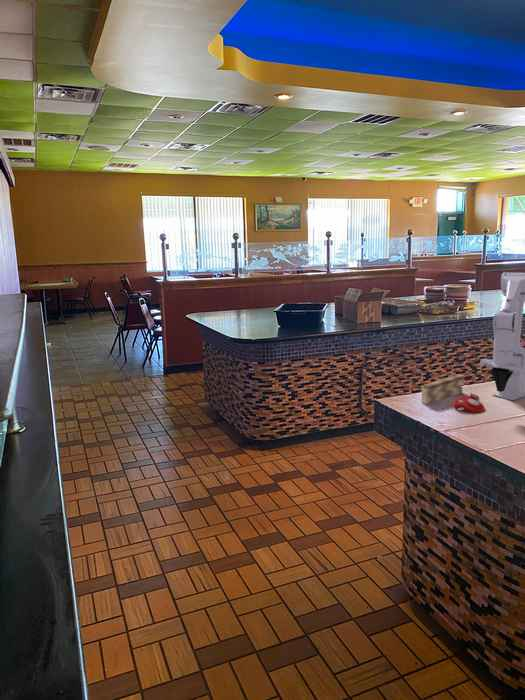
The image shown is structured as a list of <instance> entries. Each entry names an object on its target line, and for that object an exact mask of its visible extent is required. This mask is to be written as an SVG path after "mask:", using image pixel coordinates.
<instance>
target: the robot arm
mask: <svg viewBox="0 0 525 700" xmlns="http://www.w3.org/2000/svg"><path fill="white" fill-rule="evenodd" d="M500 289H501V292H502V296H504V297H503V298H502V299H501V300H500V303H499V306H498V310H497V312H496V313H494V314H493V320H492V327H493V337H494V338H493V350H492V351H493V353H492V354H493V355H492V359H487V358H482V359H481V358H480V359H479V361H480V363H479V366H483V367H484V366H485V367H489V368H491V369H490V370H489V371H490V374H491V375H492V377H493V380H494V383H495V388H496V391H497V392H494V393H492V395H493V396H495V397H498V398H503V399H505V400H511V401H515V400H518V399H520V398H523V397H525V347H523V346H522V345H521V344H520V343H521V335H522V334H521V333H522V324H523V315H524V306H525V272H505V271H503V273H502V274H501V277H500Z"/></svg>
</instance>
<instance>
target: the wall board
mask: <svg viewBox="0 0 525 700" xmlns="http://www.w3.org/2000/svg"><path fill="white" fill-rule="evenodd" d="M465 378H466V375H465V374H460V373H458V374H455V375H452V376H449V377H445V378H442V379H439V380H435V381H432V382H428V383H425V384H422V385H423V386H421V403H422V404H425V405H428V404H431V403H435V402H438V401H441V400H444V399H446V398H450V397H453V396H455V395H458V394H461V393H463V381H464V380H465Z"/></svg>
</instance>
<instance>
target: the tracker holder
mask: <svg viewBox="0 0 525 700" xmlns="http://www.w3.org/2000/svg"><path fill="white" fill-rule="evenodd" d="M469 394H470V395H469V396H463V397H457V398H455V400H454V401H453V407H454V409H460V408H462V409H464V410H466V411H468V412H471V413H474V414H479V413H483V412H484V411H485V405H484V404H483V403H482V402H480V401H481V400H480V397H479V396H478V395H477V394H475V393H472V392H469Z"/></svg>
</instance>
